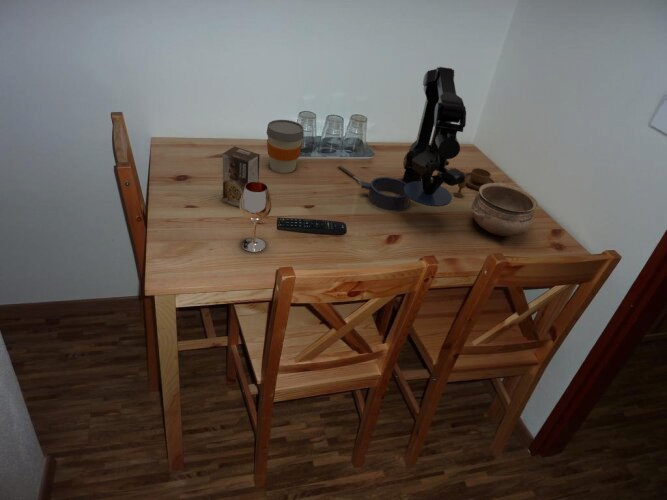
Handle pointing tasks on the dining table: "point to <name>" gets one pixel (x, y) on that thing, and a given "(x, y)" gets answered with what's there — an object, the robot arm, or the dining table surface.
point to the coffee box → (238, 173)
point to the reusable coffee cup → (284, 144)
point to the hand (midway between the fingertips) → (428, 191)
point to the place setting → (475, 180)
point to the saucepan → (386, 200)
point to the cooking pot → (503, 209)
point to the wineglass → (255, 211)
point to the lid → (427, 194)
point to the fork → (349, 173)
